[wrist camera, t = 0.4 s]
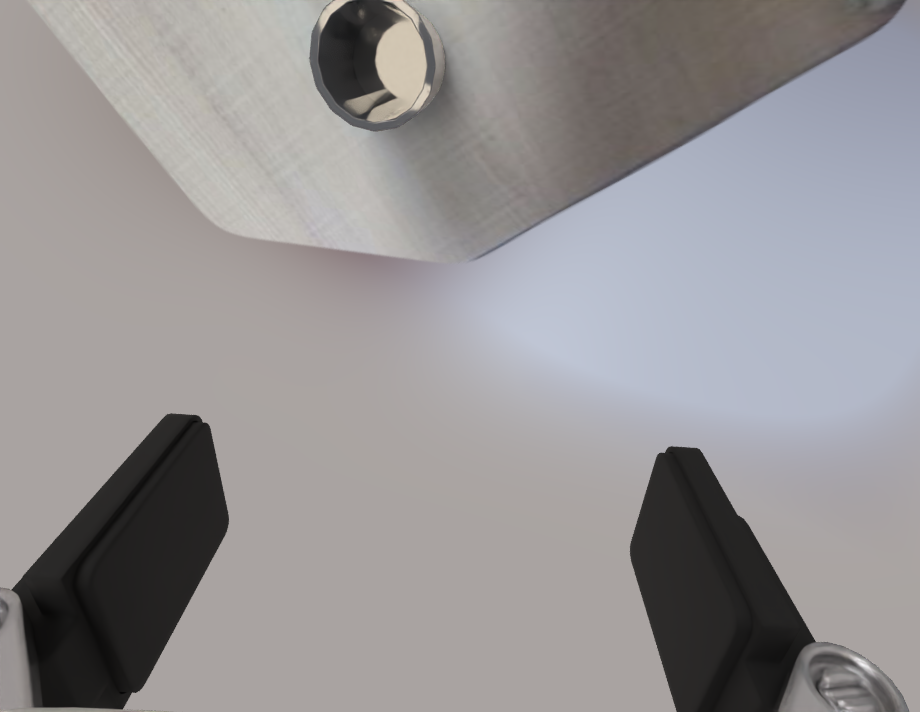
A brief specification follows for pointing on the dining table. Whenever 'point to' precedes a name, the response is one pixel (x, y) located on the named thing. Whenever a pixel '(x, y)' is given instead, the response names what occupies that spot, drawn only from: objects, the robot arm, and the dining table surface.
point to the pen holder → (376, 61)
